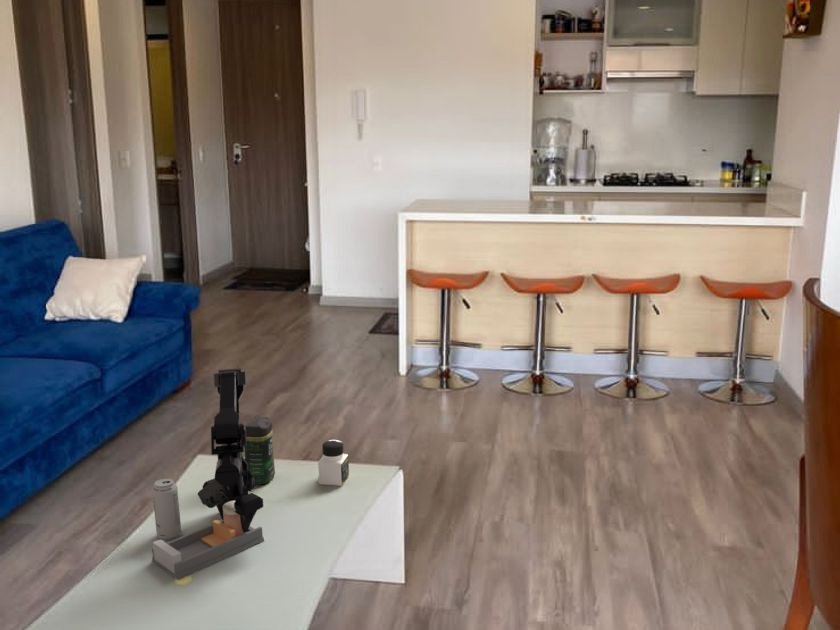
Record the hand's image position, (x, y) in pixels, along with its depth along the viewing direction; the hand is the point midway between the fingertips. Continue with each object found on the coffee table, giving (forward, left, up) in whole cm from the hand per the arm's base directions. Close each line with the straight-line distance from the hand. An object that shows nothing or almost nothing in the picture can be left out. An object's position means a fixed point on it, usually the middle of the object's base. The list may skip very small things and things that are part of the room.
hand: (234, 525), depth 201 cm
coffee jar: (-25, +25, -4) cm, 36 cm away
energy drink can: (-14, -11, -4) cm, 18 cm away
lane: (0, -8, -4) cm, 8 cm away
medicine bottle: (-8, +39, -4) cm, 40 cm away
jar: (0, 0, -3) cm, 3 cm away
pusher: (0, -5, -3) cm, 6 cm away
